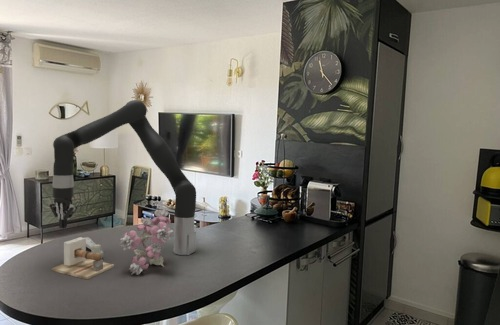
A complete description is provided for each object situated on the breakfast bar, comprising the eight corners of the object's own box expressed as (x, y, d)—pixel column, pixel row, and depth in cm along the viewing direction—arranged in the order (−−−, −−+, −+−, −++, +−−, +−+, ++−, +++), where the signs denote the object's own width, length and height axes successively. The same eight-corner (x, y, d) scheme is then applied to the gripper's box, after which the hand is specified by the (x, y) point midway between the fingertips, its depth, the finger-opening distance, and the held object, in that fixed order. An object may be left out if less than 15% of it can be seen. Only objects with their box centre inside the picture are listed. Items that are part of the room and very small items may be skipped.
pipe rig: (113, 266, 148) (114, 249, 148) (87, 279, 135) (87, 260, 135) (80, 259, 155) (80, 242, 154) (51, 270, 142) (51, 252, 141)
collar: (85, 259, 150) (85, 238, 149) (69, 265, 142) (69, 243, 141) (80, 258, 151) (80, 237, 150) (64, 264, 143) (63, 242, 143)
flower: (110, 257, 155) (112, 211, 142) (160, 244, 167) (166, 201, 155) (125, 293, 141) (128, 246, 129) (178, 275, 154) (186, 231, 142)
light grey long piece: (91, 235, 176) (104, 243, 156) (91, 249, 176) (104, 258, 156) (79, 237, 173) (91, 244, 153) (79, 251, 173) (91, 260, 153)
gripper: (83, 186, 147) (82, 228, 149) (59, 183, 152) (58, 223, 154) (67, 188, 140) (67, 232, 142) (43, 185, 145) (42, 227, 147)
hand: (62, 227), depth 148 cm, fingers closed
